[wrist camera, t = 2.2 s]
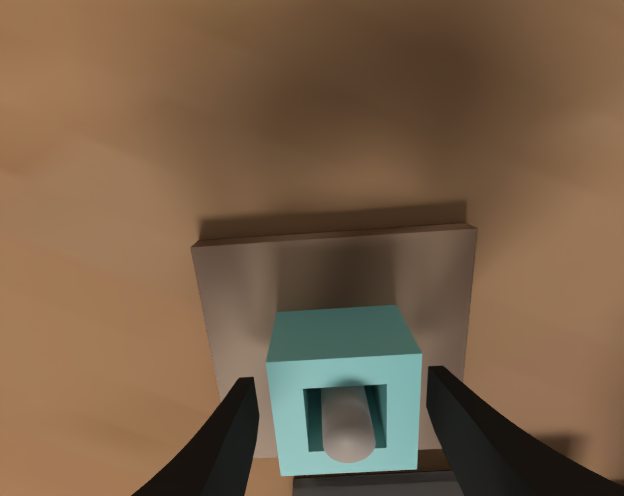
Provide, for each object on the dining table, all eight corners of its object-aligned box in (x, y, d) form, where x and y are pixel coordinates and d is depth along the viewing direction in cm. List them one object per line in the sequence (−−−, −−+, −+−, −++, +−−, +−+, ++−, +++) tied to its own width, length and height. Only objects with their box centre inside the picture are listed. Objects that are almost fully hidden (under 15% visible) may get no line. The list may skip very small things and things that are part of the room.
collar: (396, 304, 14) (422, 353, 11) (394, 401, 16) (417, 469, 13) (276, 312, 14) (265, 362, 11) (287, 407, 16) (280, 476, 13)
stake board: (466, 222, 14) (557, 268, 9) (449, 431, 18) (505, 551, 13) (198, 240, 14) (133, 295, 9) (236, 442, 18) (205, 564, 13)
